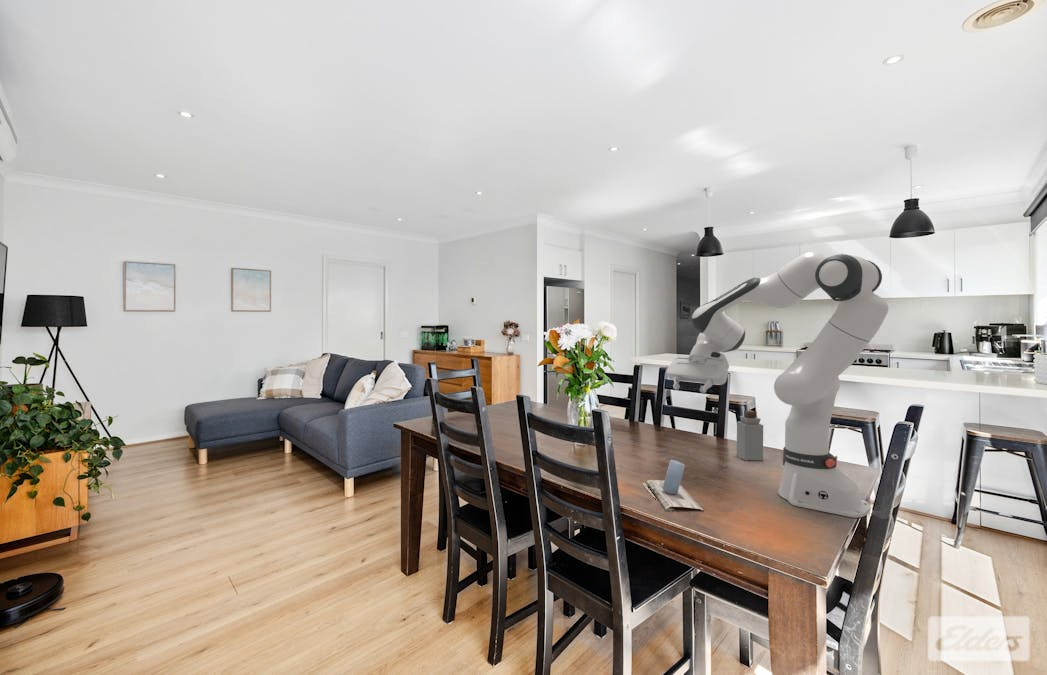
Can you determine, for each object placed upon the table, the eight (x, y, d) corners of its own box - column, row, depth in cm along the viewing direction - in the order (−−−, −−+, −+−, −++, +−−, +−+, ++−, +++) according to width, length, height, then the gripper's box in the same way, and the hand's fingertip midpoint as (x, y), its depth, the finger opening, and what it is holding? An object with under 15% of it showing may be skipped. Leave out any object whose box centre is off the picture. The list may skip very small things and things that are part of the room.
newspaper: (640, 485, 149) (641, 478, 149) (678, 489, 149) (679, 482, 149) (660, 514, 127) (661, 505, 127) (704, 519, 126) (705, 510, 126)
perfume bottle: (762, 460, 172) (763, 413, 171) (744, 460, 172) (745, 413, 171) (754, 455, 179) (754, 409, 178) (736, 455, 179) (737, 409, 178)
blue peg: (679, 494, 138) (687, 465, 138) (672, 495, 135) (680, 465, 135) (667, 487, 141) (674, 459, 141) (659, 488, 138) (667, 460, 138)
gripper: (671, 351, 166) (657, 381, 160) (728, 354, 152) (715, 387, 145) (677, 363, 170) (663, 392, 163) (734, 367, 155) (721, 399, 149)
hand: (688, 390), depth 154 cm, fingers open, 8 cm apart
